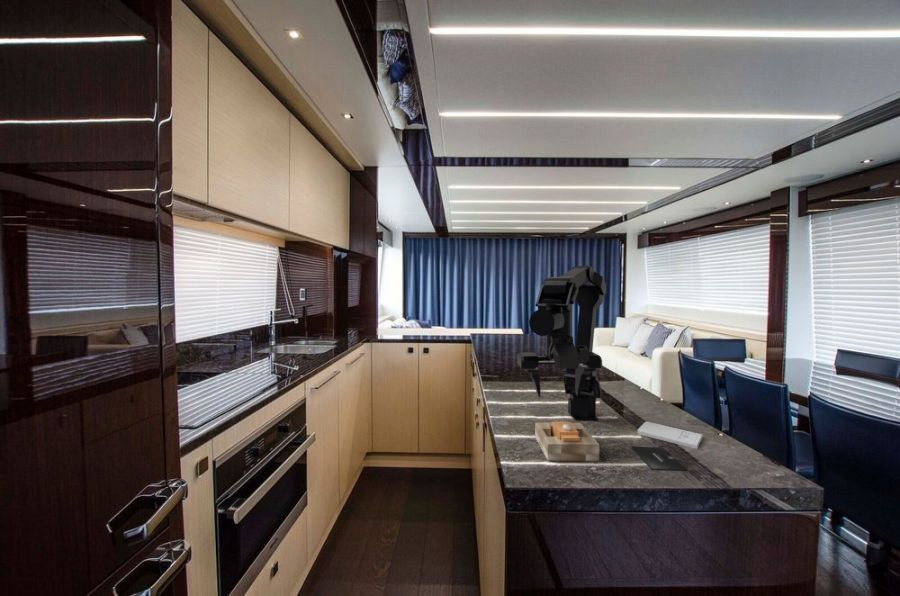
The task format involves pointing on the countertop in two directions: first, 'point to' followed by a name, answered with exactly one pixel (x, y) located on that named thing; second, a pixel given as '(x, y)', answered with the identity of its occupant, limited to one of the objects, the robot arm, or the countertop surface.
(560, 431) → the block
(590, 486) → the countertop surface
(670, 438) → the external hard drive
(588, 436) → the beige notched square frame
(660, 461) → the solid state drive
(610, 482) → the countertop surface
